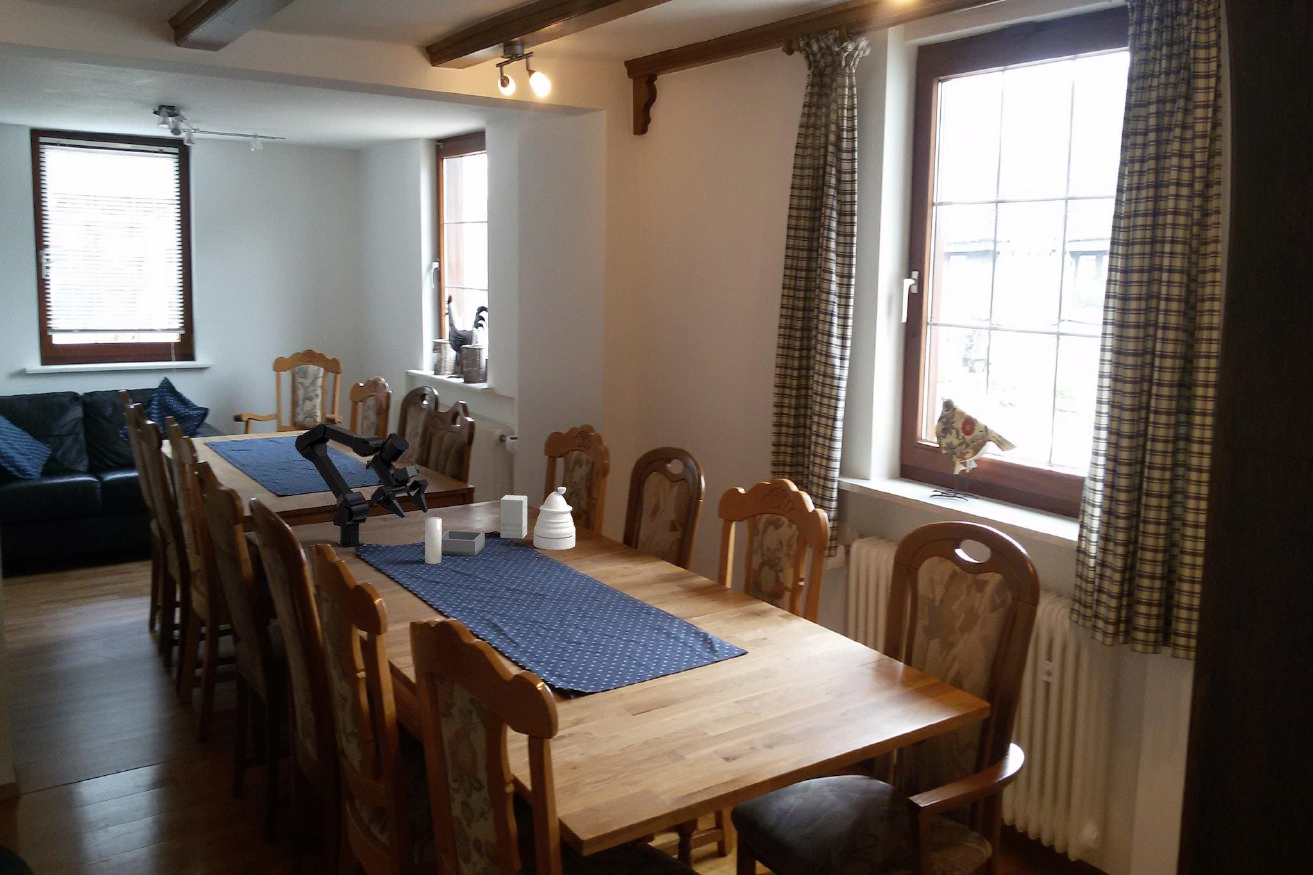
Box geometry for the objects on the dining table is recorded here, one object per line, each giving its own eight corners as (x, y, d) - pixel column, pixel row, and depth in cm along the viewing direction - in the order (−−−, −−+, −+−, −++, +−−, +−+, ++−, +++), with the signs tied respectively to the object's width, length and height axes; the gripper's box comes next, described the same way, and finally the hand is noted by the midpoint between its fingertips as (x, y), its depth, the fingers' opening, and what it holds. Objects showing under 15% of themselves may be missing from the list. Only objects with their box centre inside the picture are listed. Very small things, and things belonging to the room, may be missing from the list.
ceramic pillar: (422, 561, 301) (422, 518, 299) (436, 559, 304) (437, 516, 302) (429, 564, 297) (429, 521, 295) (444, 562, 300) (444, 519, 298)
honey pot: (578, 541, 331) (579, 485, 329) (571, 550, 319) (572, 492, 316) (538, 538, 333) (539, 482, 330) (529, 548, 320) (530, 490, 318)
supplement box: (527, 534, 338) (528, 495, 337) (522, 539, 331) (523, 500, 329) (505, 532, 339) (505, 494, 337) (499, 538, 332) (500, 498, 330)
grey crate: (436, 553, 309) (436, 538, 309) (447, 544, 321) (447, 530, 320) (474, 556, 308) (475, 541, 308) (484, 546, 320) (484, 532, 319)
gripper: (377, 458, 295) (406, 502, 291) (424, 451, 310) (452, 492, 306) (357, 483, 300) (386, 526, 296) (404, 474, 316) (431, 515, 311)
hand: (415, 514), depth 302 cm, fingers open, 9 cm apart
